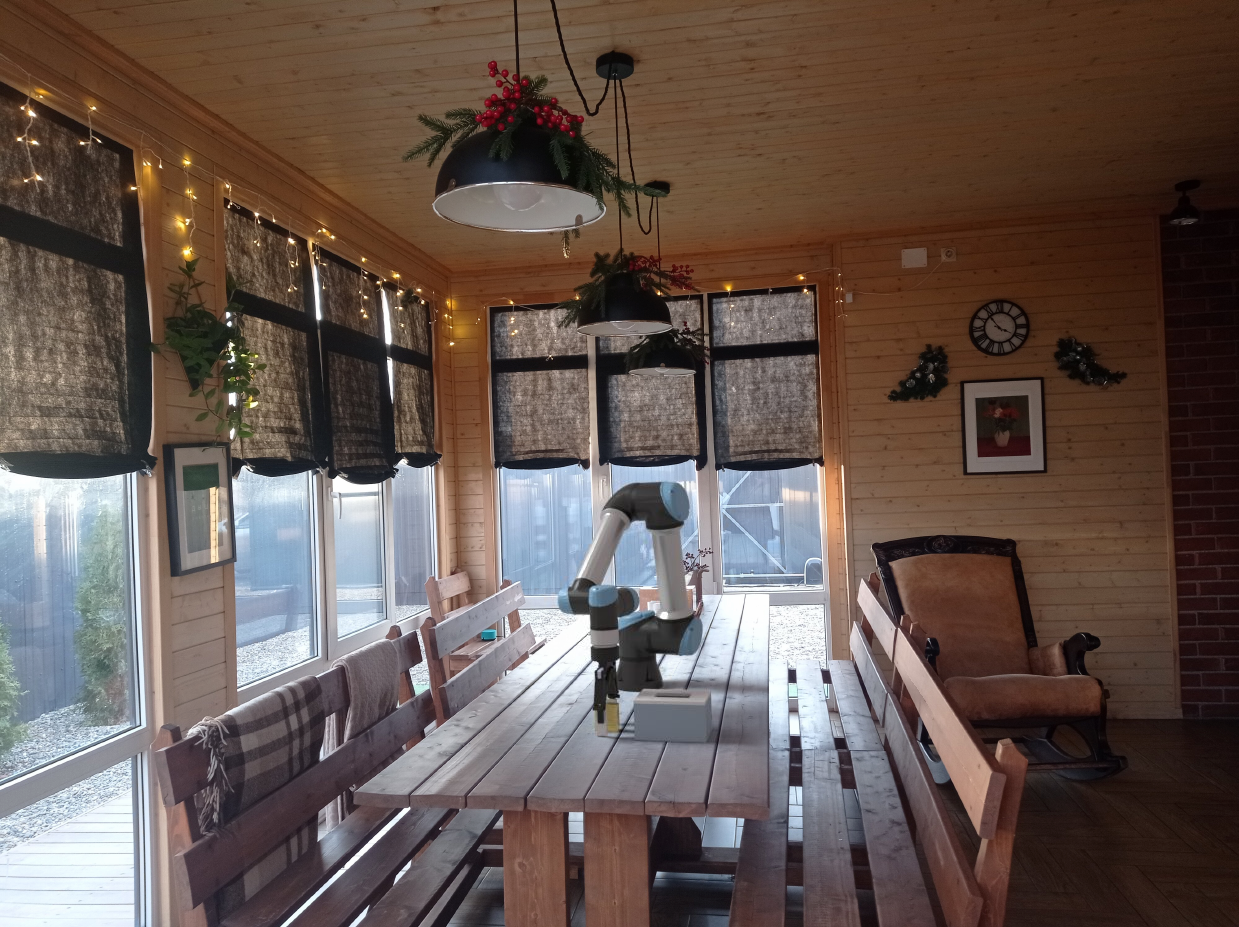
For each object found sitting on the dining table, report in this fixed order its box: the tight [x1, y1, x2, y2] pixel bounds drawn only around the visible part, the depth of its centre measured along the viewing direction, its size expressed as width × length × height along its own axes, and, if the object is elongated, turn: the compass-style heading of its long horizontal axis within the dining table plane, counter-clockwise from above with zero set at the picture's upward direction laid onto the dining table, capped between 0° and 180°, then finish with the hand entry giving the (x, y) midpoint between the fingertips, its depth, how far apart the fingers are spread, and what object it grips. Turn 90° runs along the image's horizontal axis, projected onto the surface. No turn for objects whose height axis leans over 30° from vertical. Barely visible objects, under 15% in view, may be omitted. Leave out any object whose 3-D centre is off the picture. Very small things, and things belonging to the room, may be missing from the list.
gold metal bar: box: [594, 701, 621, 733], centre depth 240 cm, size 2×6×7 cm, turn 77°
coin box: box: [632, 688, 713, 744], centre depth 234 cm, size 12×18×10 cm, turn 77°
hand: (607, 729), depth 240 cm, fingers open, 11 cm apart
